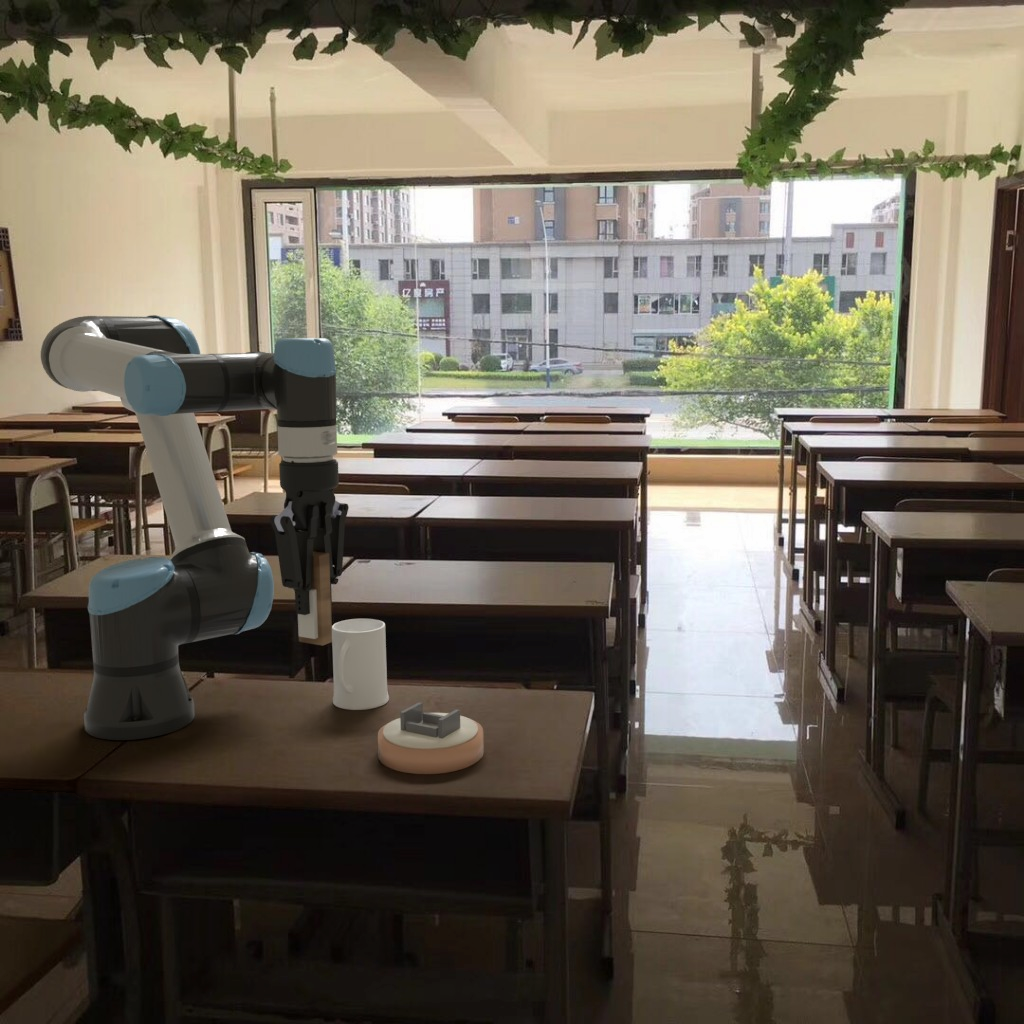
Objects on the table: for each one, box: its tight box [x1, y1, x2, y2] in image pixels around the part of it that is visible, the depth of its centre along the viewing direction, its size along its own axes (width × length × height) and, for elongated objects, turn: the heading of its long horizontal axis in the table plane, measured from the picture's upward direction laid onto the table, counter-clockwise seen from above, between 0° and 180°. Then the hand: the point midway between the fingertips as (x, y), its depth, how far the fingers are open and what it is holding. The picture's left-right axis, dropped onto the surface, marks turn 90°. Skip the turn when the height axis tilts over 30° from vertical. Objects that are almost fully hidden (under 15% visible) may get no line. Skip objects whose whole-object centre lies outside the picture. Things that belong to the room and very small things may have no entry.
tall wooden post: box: [298, 551, 333, 646], centre depth 142 cm, size 4×2×12 cm, turn 61°
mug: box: [331, 618, 390, 711], centre depth 162 cm, size 12×8×12 cm
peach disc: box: [377, 702, 484, 775], centre depth 143 cm, size 14×14×6 cm
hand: (314, 634), depth 143 cm, fingers closed on tall wooden post, 2 cm apart
